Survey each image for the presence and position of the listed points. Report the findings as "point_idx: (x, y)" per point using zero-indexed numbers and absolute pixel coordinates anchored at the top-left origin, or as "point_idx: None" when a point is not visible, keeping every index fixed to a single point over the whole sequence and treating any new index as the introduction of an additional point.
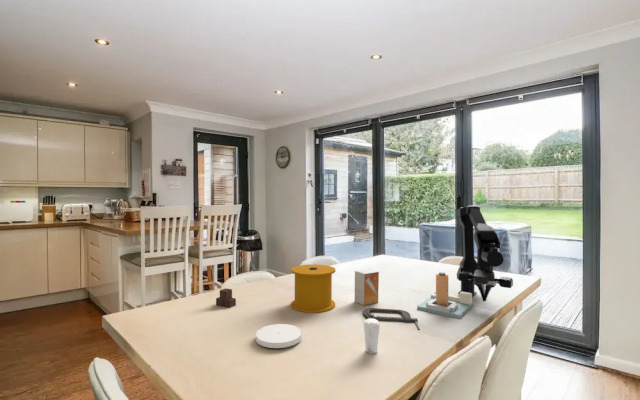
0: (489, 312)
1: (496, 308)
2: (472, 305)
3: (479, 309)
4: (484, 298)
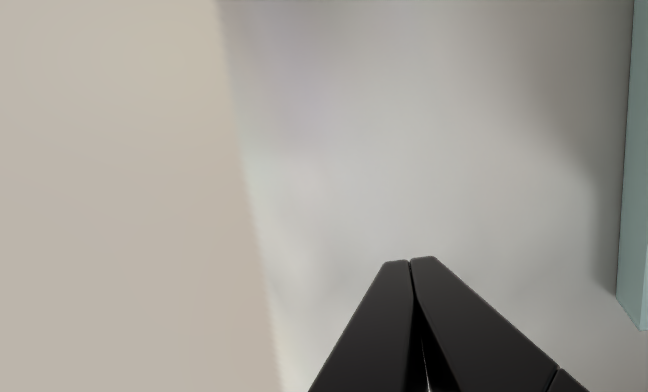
0: (283, 124)
1: (296, 360)
2: (619, 250)
3: (465, 147)
4: (403, 286)
